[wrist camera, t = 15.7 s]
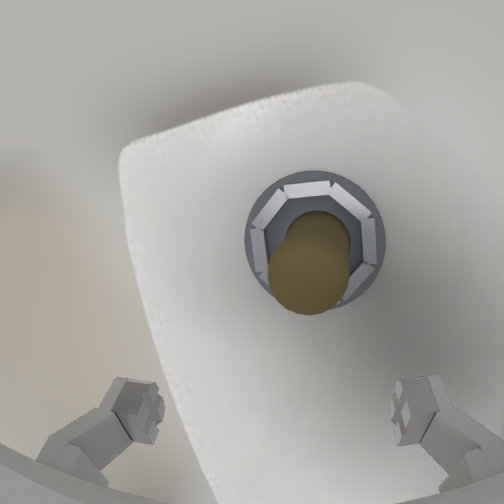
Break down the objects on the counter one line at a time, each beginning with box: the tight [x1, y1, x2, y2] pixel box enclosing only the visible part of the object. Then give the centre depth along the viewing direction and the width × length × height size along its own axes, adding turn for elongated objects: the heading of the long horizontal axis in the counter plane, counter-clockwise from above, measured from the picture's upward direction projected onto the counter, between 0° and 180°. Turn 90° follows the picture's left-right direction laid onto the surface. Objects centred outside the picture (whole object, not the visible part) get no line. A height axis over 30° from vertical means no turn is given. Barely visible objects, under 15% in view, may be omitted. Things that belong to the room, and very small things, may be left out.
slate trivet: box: [245, 171, 385, 309], centre depth 29 cm, size 13×13×2 cm
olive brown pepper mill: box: [268, 210, 351, 315], centre depth 24 cm, size 6×6×11 cm
